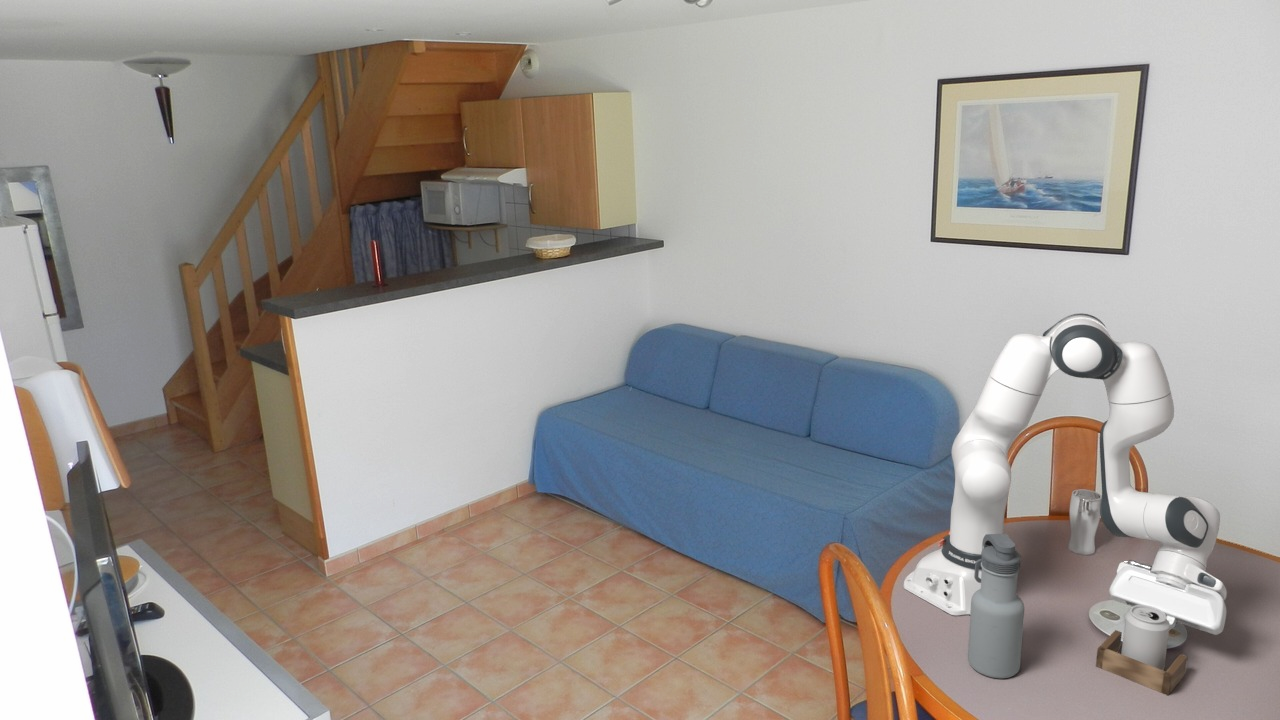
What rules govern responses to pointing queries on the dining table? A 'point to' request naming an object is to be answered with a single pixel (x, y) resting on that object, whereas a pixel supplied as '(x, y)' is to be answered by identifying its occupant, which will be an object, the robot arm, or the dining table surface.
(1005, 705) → the dining table surface
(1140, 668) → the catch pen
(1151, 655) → the can
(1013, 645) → the water bottle
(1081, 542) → the beer glass
